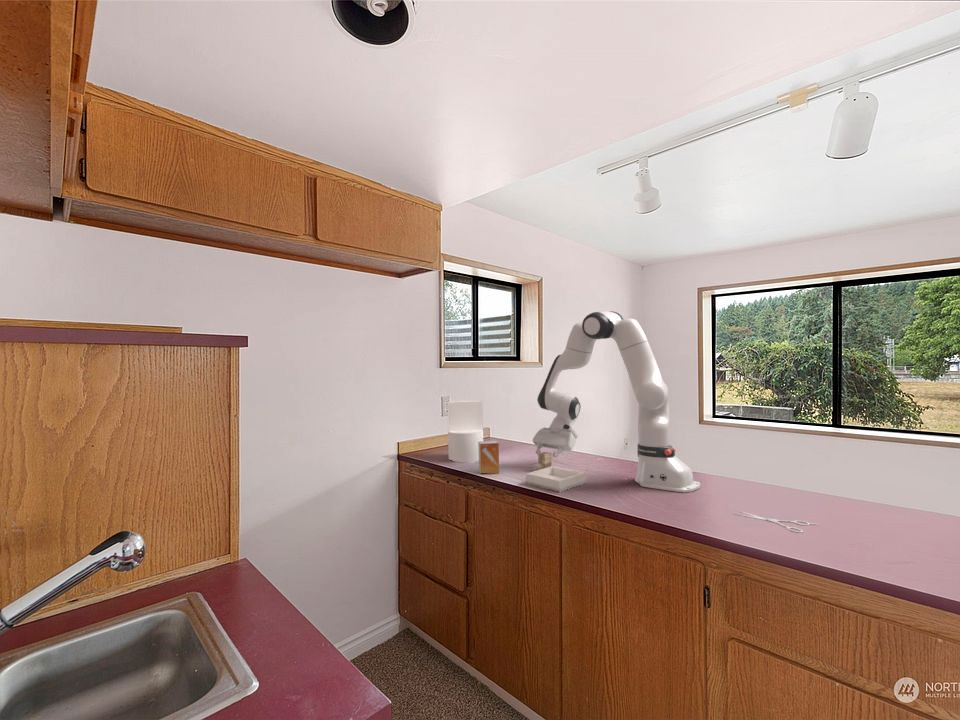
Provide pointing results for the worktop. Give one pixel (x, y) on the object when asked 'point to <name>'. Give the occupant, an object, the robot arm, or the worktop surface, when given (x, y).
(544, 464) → the beech block
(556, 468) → the bin
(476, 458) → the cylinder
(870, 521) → the worktop surface
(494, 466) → the small box
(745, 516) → the scissors
